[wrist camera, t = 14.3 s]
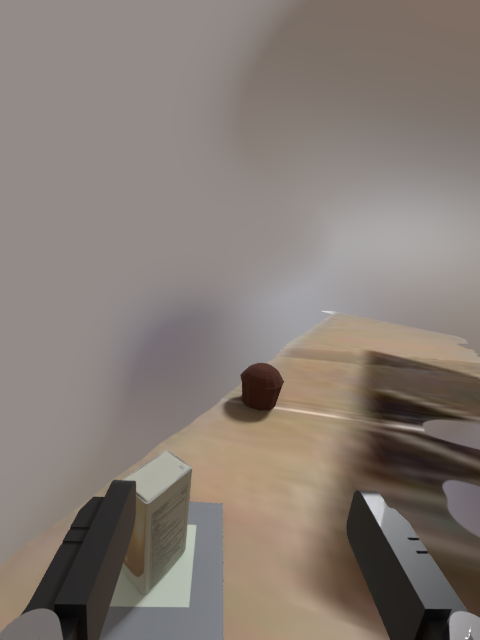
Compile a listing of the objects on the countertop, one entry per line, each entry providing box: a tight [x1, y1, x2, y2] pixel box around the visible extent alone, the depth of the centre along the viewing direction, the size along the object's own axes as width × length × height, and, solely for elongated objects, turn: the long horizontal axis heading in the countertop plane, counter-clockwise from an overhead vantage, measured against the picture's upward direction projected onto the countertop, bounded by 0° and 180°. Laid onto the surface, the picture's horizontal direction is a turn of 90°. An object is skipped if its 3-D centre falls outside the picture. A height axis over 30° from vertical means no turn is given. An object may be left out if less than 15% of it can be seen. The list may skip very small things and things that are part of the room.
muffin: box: [241, 363, 284, 410], centre depth 75 cm, size 12×11×10 cm
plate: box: [99, 502, 223, 640], centre depth 33 cm, size 16×16×2 cm
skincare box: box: [121, 451, 192, 595], centre depth 32 cm, size 6×4×12 cm
